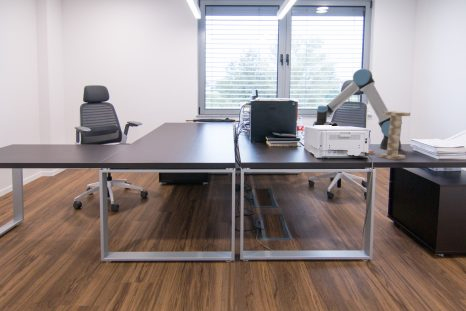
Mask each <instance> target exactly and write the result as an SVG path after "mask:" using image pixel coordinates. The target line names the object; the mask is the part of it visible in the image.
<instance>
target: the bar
mask: <svg viewBox="0 0 466 311" xmlns="http://www.w3.org/2000/svg"><path fill="white" fill-rule="evenodd" d="M368 149H369V148H368ZM374 153H375V150H374V149H369V154H368V155H374Z"/></svg>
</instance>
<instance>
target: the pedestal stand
mask: <svg viewBox="0 0 466 311" xmlns="http://www.w3.org/2000/svg"><path fill="white" fill-rule="evenodd" d="M383 115H391V117H390V126H389V136H388V145H387V149H386V152H384V153H383V152H382V153H378V158H382V159H388V160H394V161H396V160H405V159H406V155H405V154H399V150H398V148H399V139H400V140H401V133H400V130H401V131H402V124H401V121H403V120H402V119H403V117H410V116H411V112H407V111H397V110H396V111H395V110H393V111H392V110H388V111H383Z"/></svg>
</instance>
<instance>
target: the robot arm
mask: <svg viewBox="0 0 466 311" xmlns="http://www.w3.org/2000/svg"><path fill="white" fill-rule="evenodd" d="M372 73H373V72H371V70H369V69H366V68H358V69H356V70H355V72H354V73H353V75H352V82H351V83H349V85H348V86H346V87H345V89H343V90H342V91H341V92H340V93H338V95H336V96H335V97H334V98H333V99H332V100H331V101H330V102H329V103H327V105H321V104H320V105H318V106H317V110H316V120H314V121H313V124H312V127H313V126H314V125H332V126H339V125H338V124H337V122H331V121H327V120H328V117H331V115H333V113H334V112H335V111H337V109H338V108H340V107H341V106H342V105H344V103H346V101H348V100H349V99H350V98H351V97H352V96H354V95H355V93H356V94H357V92H358V91H359V90H360V91H361V92H363V94H364V95H365V97H366V99H367V101H368V103H369V105H370V107H371V108H372V110H373V112H374V114H375V116H376V117H377V119H378V122H377V123H378V126H379V128H380V130H381V133H382V134H383V137H382V140H381V142H380V145H379V148H380V149H382V150H387V145H388V136H389V126H390V117H391V115H383V111H389V110H388V108H387V106H386V104H385V102H384V100H383V99H382V97H381V95H380V93H379V92H378V90H377V88H376V86H375V80H374V78H373V74H372ZM402 121H403V120H402ZM402 121H401V125H402V124H403V122H402ZM401 131H402V129H401V130H400V134H401V133H402V132H401ZM401 142H402V141H401V138H400V139H399V148H398V151H401V150H402V143H401Z"/></svg>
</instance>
